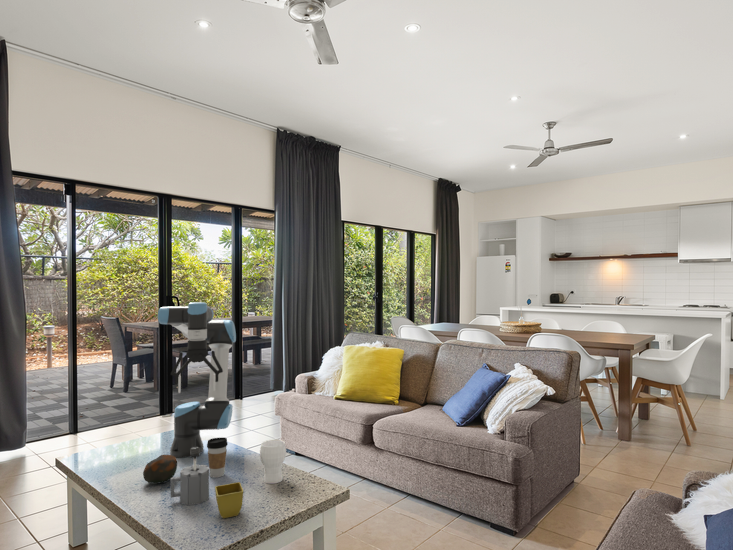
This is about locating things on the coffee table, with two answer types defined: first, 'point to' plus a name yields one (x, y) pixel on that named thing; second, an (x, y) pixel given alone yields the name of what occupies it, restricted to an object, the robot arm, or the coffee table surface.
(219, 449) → the coffee cup
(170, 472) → the rock
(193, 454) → the plunger
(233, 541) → the coffee table surface
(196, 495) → the press carafe
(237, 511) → the flower pot
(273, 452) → the cup
